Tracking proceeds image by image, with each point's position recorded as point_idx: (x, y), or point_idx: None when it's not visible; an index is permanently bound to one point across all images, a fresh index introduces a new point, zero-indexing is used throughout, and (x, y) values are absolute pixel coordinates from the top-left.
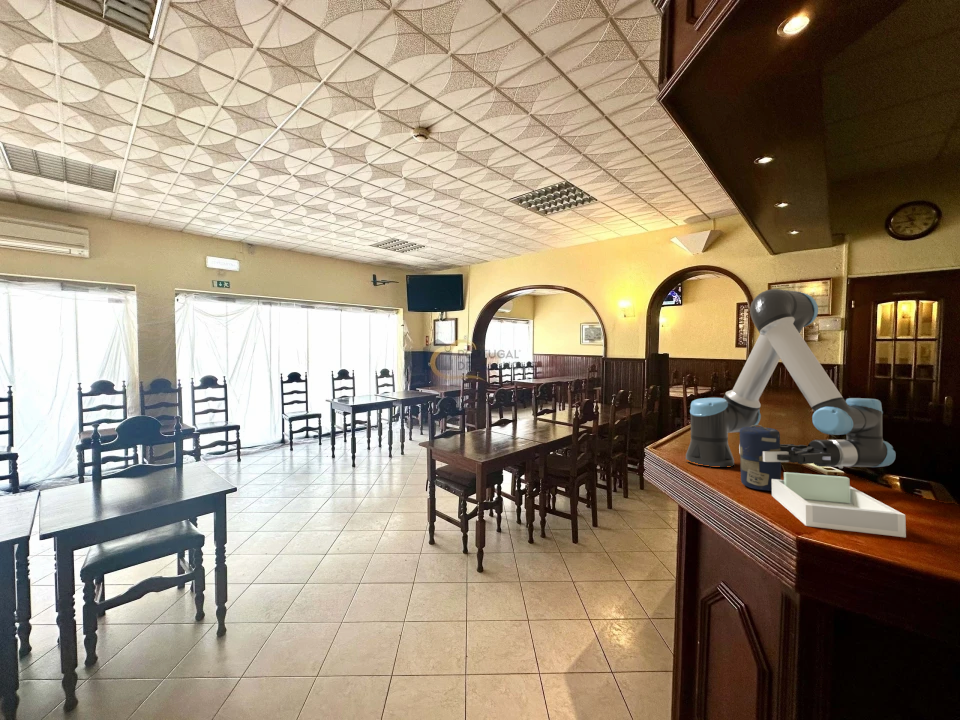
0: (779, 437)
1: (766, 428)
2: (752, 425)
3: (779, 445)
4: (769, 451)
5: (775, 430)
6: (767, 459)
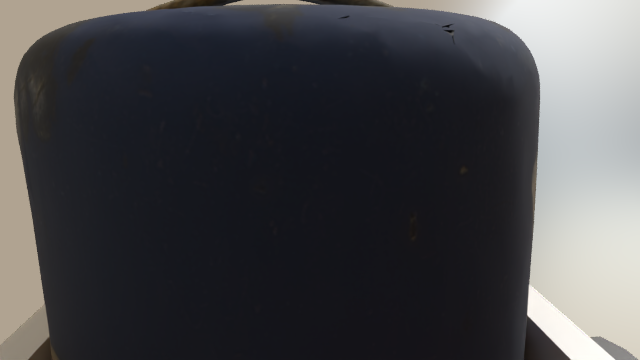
0: (31, 160)
1: (150, 9)
2: (385, 5)
3: (50, 305)
4: None
5: (72, 23)
6: None
